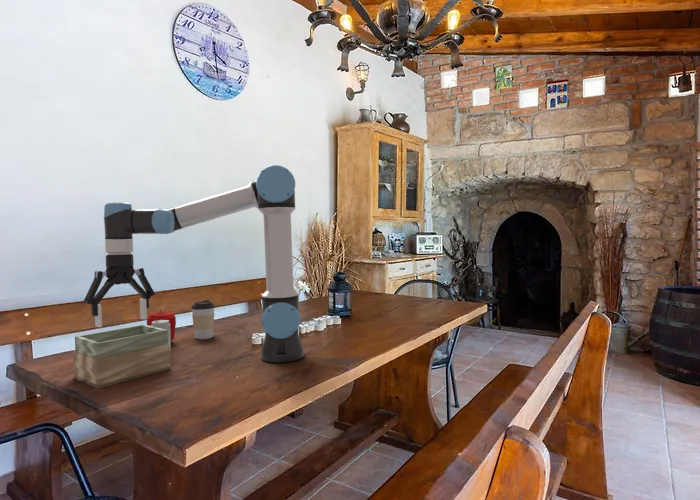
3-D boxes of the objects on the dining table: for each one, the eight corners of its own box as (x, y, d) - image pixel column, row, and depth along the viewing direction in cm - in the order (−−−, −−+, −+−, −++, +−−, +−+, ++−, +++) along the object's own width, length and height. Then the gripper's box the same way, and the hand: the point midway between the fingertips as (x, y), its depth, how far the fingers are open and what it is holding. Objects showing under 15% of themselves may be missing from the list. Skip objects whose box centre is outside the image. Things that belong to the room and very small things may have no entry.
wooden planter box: (171, 369, 142) (169, 329, 141) (97, 388, 125) (95, 344, 124) (145, 360, 152) (144, 324, 151) (73, 377, 134) (72, 336, 134)
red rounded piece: (158, 349, 166) (156, 313, 166) (141, 346, 172) (140, 310, 171) (182, 343, 175) (181, 308, 175) (165, 340, 181) (164, 306, 180)
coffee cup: (208, 341, 178) (207, 303, 178) (187, 340, 180) (186, 303, 179) (219, 335, 187) (218, 300, 186) (199, 335, 189) (198, 299, 188)
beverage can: (155, 352, 162) (154, 319, 161) (173, 352, 162) (172, 319, 162) (148, 357, 155) (147, 323, 155) (167, 356, 156) (166, 322, 156)
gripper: (152, 251, 149) (154, 315, 150) (69, 255, 129) (72, 328, 130) (164, 252, 144) (166, 317, 145) (80, 256, 124) (83, 331, 125)
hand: (122, 322), depth 138 cm, fingers open, 13 cm apart
